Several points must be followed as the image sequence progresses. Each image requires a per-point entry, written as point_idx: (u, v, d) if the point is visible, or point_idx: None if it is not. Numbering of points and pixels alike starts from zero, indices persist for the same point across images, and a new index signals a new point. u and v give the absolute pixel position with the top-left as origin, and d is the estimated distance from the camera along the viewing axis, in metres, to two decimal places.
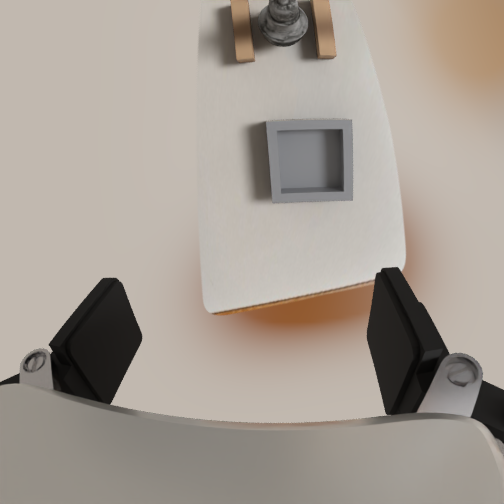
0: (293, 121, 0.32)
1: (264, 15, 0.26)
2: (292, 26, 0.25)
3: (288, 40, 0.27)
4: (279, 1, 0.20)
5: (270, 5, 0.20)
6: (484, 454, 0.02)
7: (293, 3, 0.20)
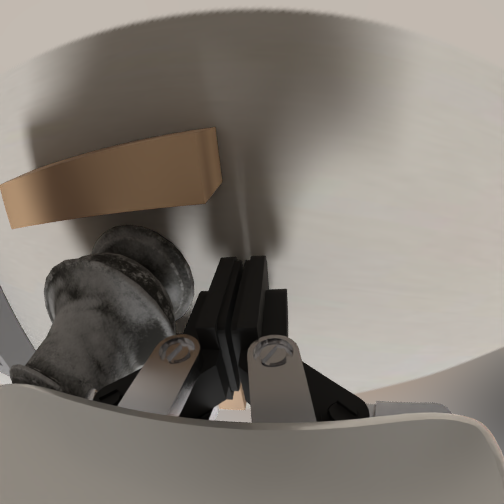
0: None
1: (99, 287, 0.08)
2: None
3: None
4: None
5: None
6: (484, 454, 0.02)
7: None
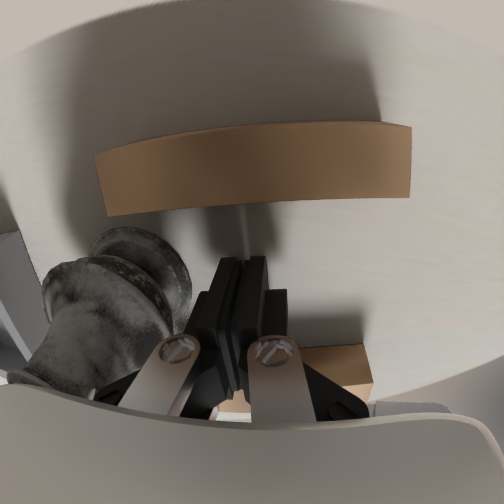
0: (6, 313, 0.11)
1: (96, 290, 0.08)
2: None
3: None
4: None
5: None
6: (484, 454, 0.02)
7: None
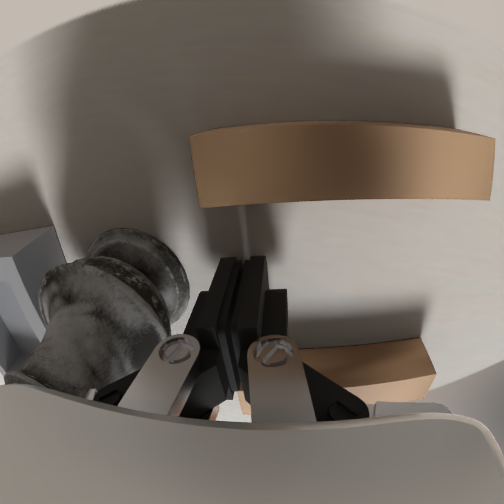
0: (39, 321, 0.10)
1: (92, 292, 0.08)
2: None
3: None
4: None
5: None
6: (484, 454, 0.02)
7: None
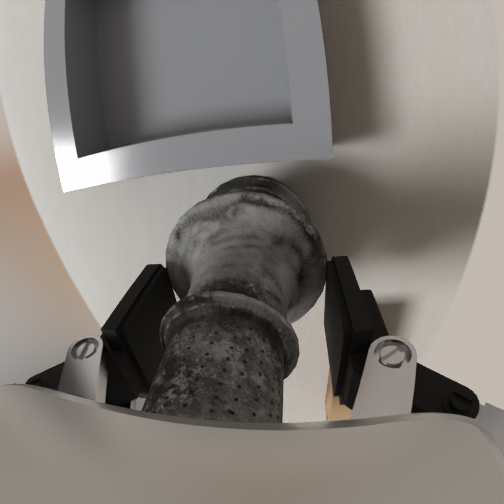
0: (230, 160, 0.09)
1: (304, 296, 0.10)
2: (202, 266, 0.09)
3: (223, 201, 0.09)
4: None
5: None
6: (484, 454, 0.02)
7: None
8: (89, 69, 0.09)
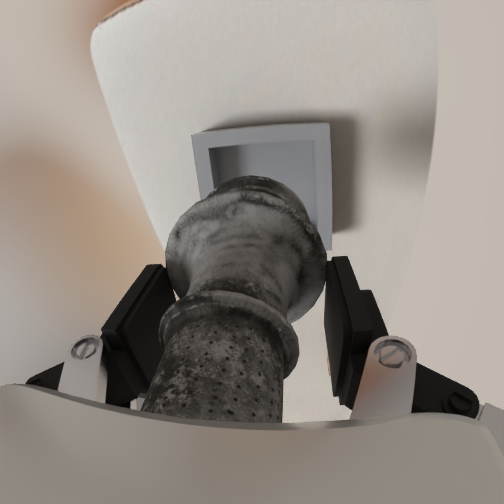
0: None
1: (304, 295, 0.10)
2: (202, 266, 0.09)
3: (223, 200, 0.09)
4: None
5: None
6: (484, 454, 0.02)
7: None
8: None
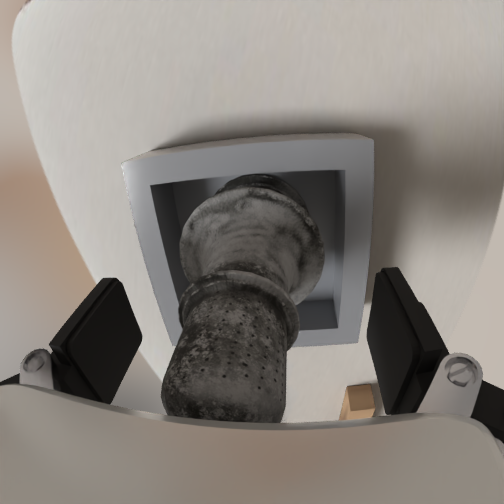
0: (298, 344, 0.15)
1: (304, 281, 0.12)
2: (215, 252, 0.10)
3: (233, 196, 0.11)
4: None
5: (278, 409, 0.06)
6: (484, 454, 0.02)
7: None
8: None
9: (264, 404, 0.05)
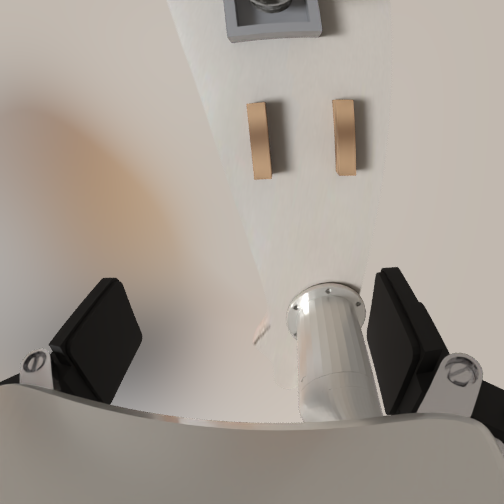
0: (292, 30, 0.25)
1: None
2: None
3: None
4: None
5: None
6: (484, 454, 0.02)
7: None
8: (236, 4, 0.25)
9: None
